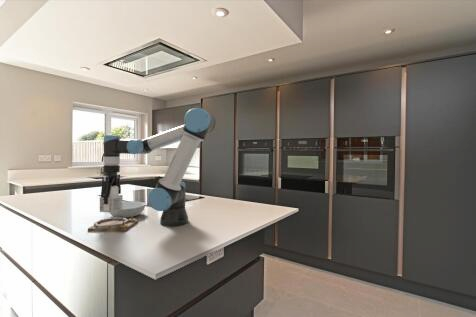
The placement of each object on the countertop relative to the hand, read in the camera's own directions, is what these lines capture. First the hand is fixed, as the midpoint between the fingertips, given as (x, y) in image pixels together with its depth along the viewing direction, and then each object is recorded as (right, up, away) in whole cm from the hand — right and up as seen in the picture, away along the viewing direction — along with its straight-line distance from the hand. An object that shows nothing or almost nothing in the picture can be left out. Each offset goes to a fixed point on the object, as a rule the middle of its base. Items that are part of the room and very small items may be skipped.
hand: (111, 208), depth 126 cm
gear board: (+2, -10, 0) cm, 10 cm away
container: (0, -2, 0) cm, 2 cm away
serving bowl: (-2, -9, +21) cm, 23 cm away
